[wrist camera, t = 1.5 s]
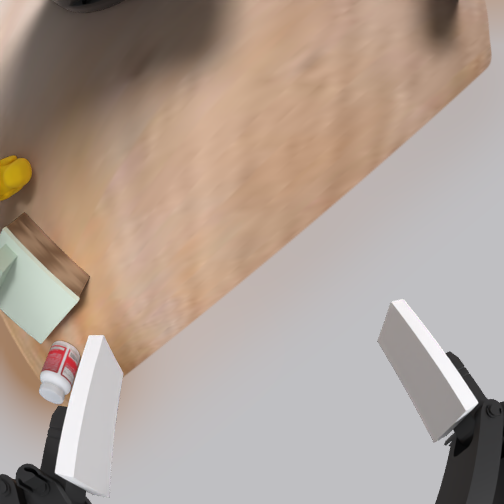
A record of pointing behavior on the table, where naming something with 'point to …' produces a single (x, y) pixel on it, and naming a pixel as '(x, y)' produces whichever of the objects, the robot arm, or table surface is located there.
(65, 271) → the box
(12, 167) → the duckling
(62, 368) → the pill bottle
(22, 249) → the lid
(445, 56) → the table surface
